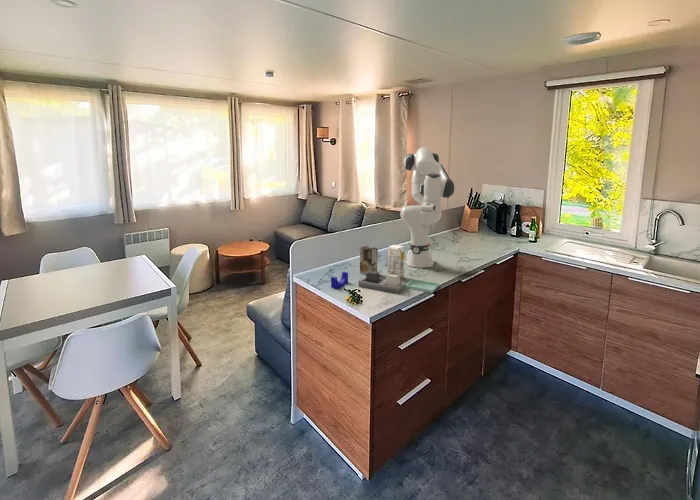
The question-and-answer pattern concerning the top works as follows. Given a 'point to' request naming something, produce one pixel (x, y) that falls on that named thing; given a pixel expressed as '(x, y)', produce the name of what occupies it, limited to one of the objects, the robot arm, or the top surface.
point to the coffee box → (368, 259)
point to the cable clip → (341, 283)
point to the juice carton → (396, 260)
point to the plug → (393, 280)
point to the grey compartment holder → (379, 283)
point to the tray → (422, 285)
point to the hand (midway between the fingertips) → (430, 231)
